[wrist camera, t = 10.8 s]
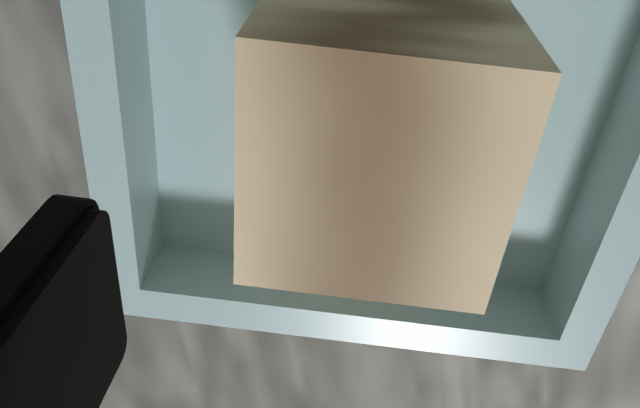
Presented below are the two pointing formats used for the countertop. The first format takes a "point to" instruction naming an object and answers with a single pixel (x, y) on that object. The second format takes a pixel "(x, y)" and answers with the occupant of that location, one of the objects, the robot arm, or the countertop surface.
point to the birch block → (384, 146)
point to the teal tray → (336, 312)
